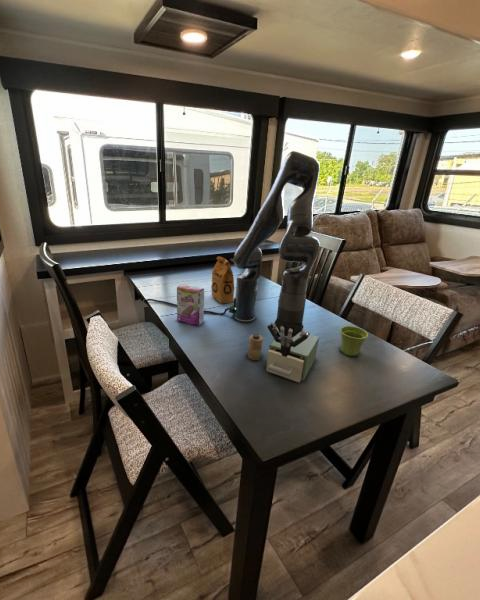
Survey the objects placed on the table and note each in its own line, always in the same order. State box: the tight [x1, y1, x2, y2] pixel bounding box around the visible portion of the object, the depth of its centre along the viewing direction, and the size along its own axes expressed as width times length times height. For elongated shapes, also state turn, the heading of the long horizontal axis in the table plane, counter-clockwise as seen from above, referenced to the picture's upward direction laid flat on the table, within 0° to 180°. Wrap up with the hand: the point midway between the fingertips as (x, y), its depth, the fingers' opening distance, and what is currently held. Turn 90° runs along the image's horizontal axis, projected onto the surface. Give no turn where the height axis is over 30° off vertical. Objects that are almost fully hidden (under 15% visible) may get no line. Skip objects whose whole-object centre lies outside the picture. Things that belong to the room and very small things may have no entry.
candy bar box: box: [176, 283, 205, 327], centre depth 135 cm, size 11×5×16 cm, turn 65°
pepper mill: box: [247, 333, 263, 361], centre depth 112 cm, size 5×5×9 cm
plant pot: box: [339, 325, 369, 357], centre depth 116 cm, size 9×9×9 cm
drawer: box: [265, 348, 305, 383], centre depth 103 cm, size 18×11×8 cm, turn 148°
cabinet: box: [268, 332, 320, 382], centre depth 108 cm, size 15×13×10 cm
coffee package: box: [210, 256, 235, 305], centre depth 158 cm, size 10×12×22 cm
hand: (284, 355), depth 97 cm, fingers closed
